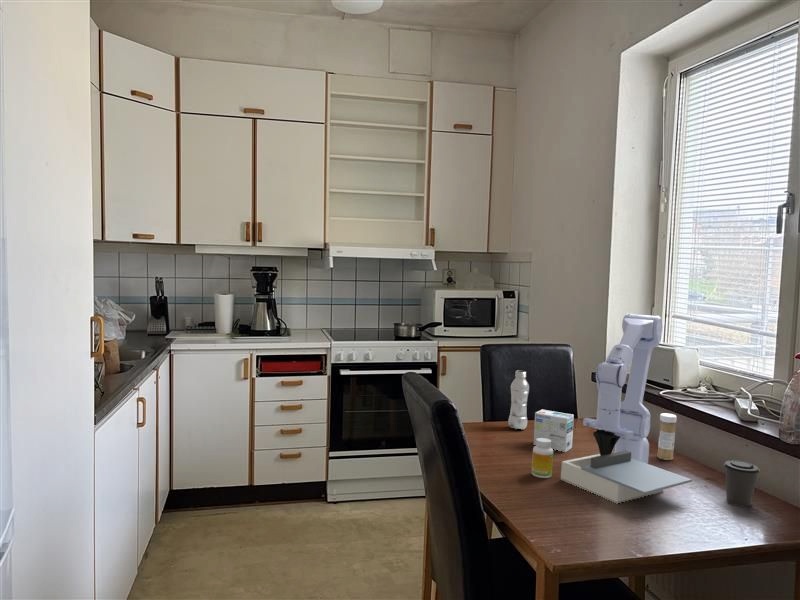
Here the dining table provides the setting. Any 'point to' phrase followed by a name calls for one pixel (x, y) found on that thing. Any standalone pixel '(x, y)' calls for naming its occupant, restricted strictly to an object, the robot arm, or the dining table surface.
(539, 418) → the light bulb box
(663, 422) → the sprinkles bottle
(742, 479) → the coffee cup
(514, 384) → the plastic bottle
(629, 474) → the lid
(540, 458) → the supplement bottle
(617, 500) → the white square shallow box
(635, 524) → the dining table surface
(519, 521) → the dining table surface
